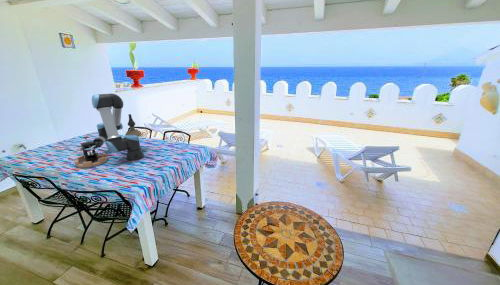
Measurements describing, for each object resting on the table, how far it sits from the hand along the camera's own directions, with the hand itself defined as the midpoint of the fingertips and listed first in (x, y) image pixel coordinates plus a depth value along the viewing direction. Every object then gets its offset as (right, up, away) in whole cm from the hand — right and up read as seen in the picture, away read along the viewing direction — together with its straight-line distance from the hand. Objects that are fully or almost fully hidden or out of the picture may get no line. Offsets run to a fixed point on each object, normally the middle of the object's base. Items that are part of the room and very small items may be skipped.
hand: (85, 149), depth 181 cm
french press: (-1, -10, +9) cm, 14 cm away
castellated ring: (-1, -13, +9) cm, 16 cm away
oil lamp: (+24, -3, +39) cm, 46 cm away
